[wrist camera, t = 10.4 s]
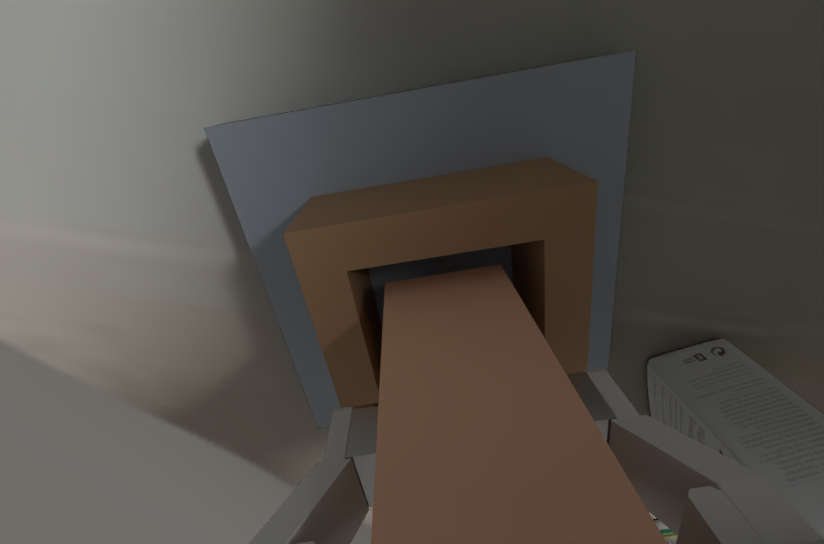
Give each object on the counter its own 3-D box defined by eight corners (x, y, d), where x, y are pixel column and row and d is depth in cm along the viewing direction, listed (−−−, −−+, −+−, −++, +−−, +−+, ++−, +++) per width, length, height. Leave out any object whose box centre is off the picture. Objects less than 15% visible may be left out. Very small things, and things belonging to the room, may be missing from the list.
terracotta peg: (500, 264, 13) (738, 663, 4) (506, 356, 15) (681, 780, 6) (384, 283, 13) (361, 709, 4) (404, 372, 15) (419, 810, 6)
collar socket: (613, 54, 14) (730, 37, 9) (593, 367, 21) (654, 455, 16) (221, 124, 15) (132, 143, 10) (323, 407, 21) (301, 504, 16)
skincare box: (641, 358, 21) (915, 664, 10) (727, 332, 20) (1120, 626, 9) (652, 433, 23) (877, 739, 12) (728, 411, 23) (1034, 713, 12)
